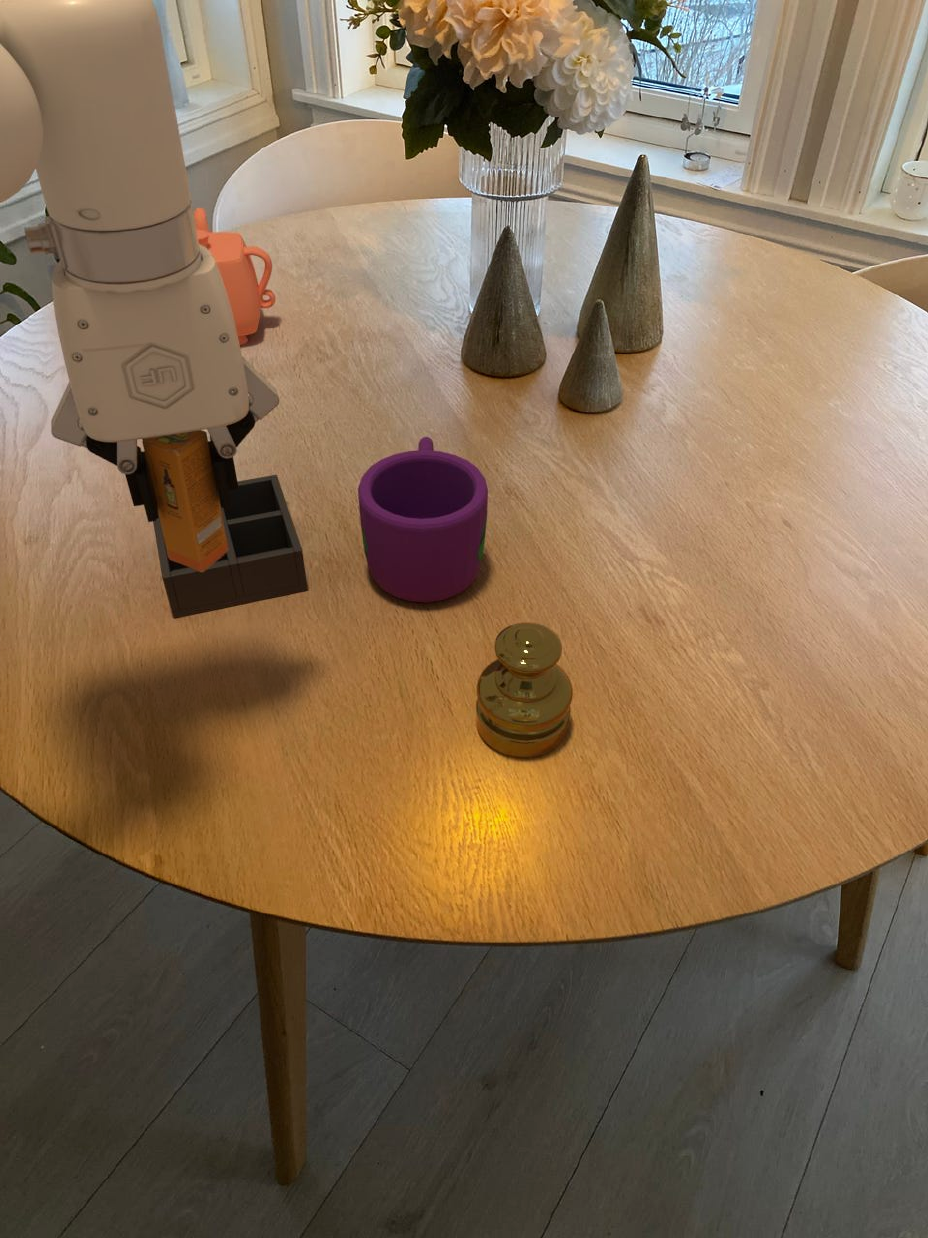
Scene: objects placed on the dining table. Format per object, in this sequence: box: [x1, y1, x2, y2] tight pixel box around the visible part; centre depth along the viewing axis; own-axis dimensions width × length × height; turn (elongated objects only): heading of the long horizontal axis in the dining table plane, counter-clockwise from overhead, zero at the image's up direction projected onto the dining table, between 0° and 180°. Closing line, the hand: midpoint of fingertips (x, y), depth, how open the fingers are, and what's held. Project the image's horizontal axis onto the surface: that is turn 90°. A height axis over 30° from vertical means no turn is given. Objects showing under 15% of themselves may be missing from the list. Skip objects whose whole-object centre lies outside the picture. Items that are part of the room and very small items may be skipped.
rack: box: [152, 474, 308, 619], centre depth 89 cm, size 12×12×5 cm
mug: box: [357, 436, 489, 603], centre depth 89 cm, size 17×11×10 cm, turn 0°
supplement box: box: [141, 430, 228, 572], centre depth 66 cm, size 3×3×10 cm
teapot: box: [193, 207, 276, 346], centre depth 119 cm, size 15×17×13 cm
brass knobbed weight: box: [475, 621, 574, 758], centre depth 73 cm, size 7×7×10 cm
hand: (188, 501), depth 66 cm, fingers closed on supplement box, 4 cm apart
